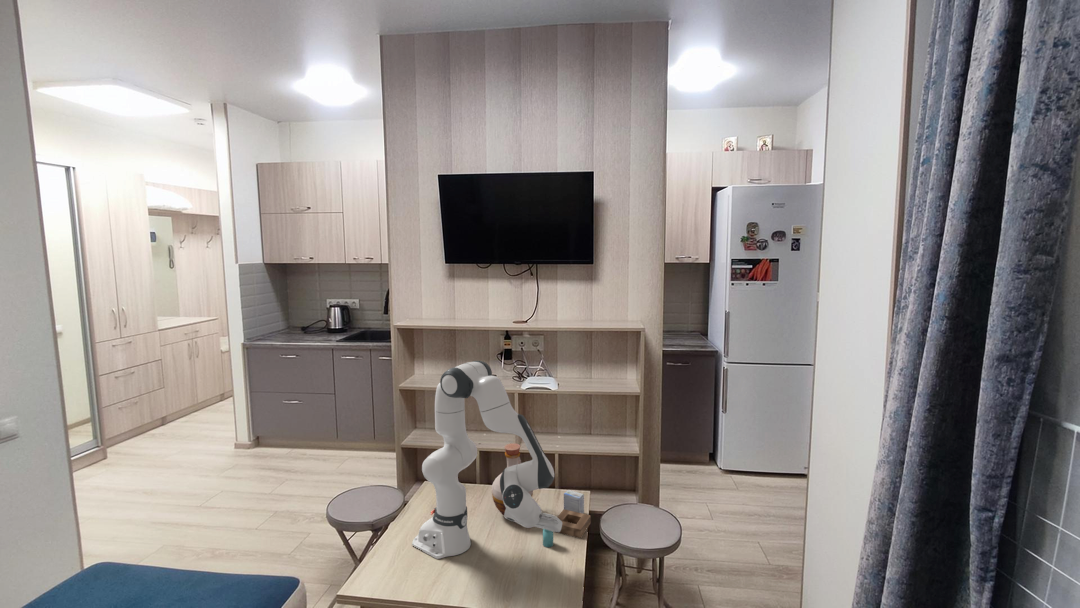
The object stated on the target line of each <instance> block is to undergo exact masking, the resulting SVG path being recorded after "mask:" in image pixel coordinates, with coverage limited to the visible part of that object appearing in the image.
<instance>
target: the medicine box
mask: <svg viewBox="0 0 1080 608" xmlns="http://www.w3.org/2000/svg"><path fill="white" fill-rule="evenodd" d="M563 509H565V510H569V511H574V512H578V513H583V514H585V494H584V493H581V492H578V491H576V490H575V491H574V490H570V489H568V490H566V491H565V492H564V493H563Z"/></svg>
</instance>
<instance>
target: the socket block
mask: <svg viewBox="0 0 1080 608" xmlns="http://www.w3.org/2000/svg"><path fill="white" fill-rule="evenodd" d="M556 517H557V518H559V519H560V520H561V521H562V528H561V531H560V532H556V533H558V534H562V535H566V536H569V537H570V536H571V537H574V538H578V539H582V537H583V535H585V532H586V531H587V530H586V528H587V529H589V526H590V525H591V521H592V520H591V519H592V518H591V515H590V514H586V513H578V512H574V511H569V510H565V509H564V508H563V509H562V511H561V512H560V513H559V515H558V516H556ZM553 533H554V531H553Z"/></svg>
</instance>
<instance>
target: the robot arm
mask: <svg viewBox="0 0 1080 608" xmlns="http://www.w3.org/2000/svg"><path fill="white" fill-rule="evenodd" d="M439 381H440V382H439V383H438V384H437V386H436V389H435V395H434V428H435V432H436V433H437V434H438V435H439V436H441V437H442V438H443V447H441V448H438V449H437V450H435V451H433V452H431V454H429V455H428V456H427V457H426V458H425V459H424V460H423V462H422V465H421V471H422V474H423V477H424V479H426V480H427V481H428V482H429V483H431V484H432V485H433V487H434V490H435V499H436V501H435V502H436V507H434V508H433V510H431V511H430V516H432V517H430V518H429V519H428V520H426V521H425V522H424V523H422V525H421V526H420V527H419V530H418V534H417V535H416V536H415V537H414V538H413V540H412V542H411V546H412V545H413V546H414V547H413V546H412V547H413V548H415V547H416V548H415V549H417V548H418V550H419V549H420V550H419V551H421V550H422V551H421V552H423V553H425V554H427V555H429V556H430V557H433V558H434V559H437V560H440V559H443V558H447V557H453V556H458V555H461V554H463V553H465V552H466V551H468V550H469V549H470V547H471V544H472V542H471V541H472V540H471V538H470V534H469V528H468V516H469V515H468V507H467V488H466V486H465V485H464V484H463V483H461V482H460V481H459V478H458V477H459V473H460V472H462V471H463V470H465V469H467V468H468V467H469V466H470V465H471V464H472V463H473V462H474V461H475V459H477V457H478V447H477V445H476V443H475V442H474V441H473V440H472V439H471V438H470V437H469V436H468V433H467V427H466V411H465V410H466V408H465V407H466V405H465V404H466V403H465V399H469V398H470V397H472V398H474V399H475V400H476V403H477V405H478V410H479V413H480V416H481V419H482V422H483V425H484V426H485V427H486V428H487V429H489V430H491V431H493V432H495V433H500V434H511V435H516V436H517V437H519V438H521V439H522V441H523V442H524V444H525V447H526V448H527V450H528V452H529V454H530V457H531V458H532V459H531V460H528V461H527V460H526V461H525V462H521V464H517V465H513V466H510V467H507V466H506V467H505V468H504V469H503V470H502V472H501V473H502V475H501V477H500V489H501V493H502V497H503V502H504V505H505V507H506V510H505V514H504V516H503V517H504V518H505V519H506V520H508V521H510V522H514V523H516V524H517V525H520V526H522V527H523V528H526V529H527V528H528V529H530V528H534V527H535V528H538V529H542V530H543V529H546V530H549V531H551V532H553V531H554V532H555V533H557V532H560V531H561V528H562V521H561V520H560V519H559V518H557V517H558V516H556V515H554V514H550V513H546V512H542V508H541V506H540V505H539V504H538V502H537V501H536V499H534V498H533V496H531V495H530V494H529V493H528V492H529V491H532V490H533V491H535V490H541V489H546V488H549V487H550V486H551V485H552V484H553V482H554V480H555V471H554V467H553V464H552V463H551V462H550V460H549V459H548V457H547V456H546V454H545V452H544V450H543V448H542V446H541V444H540V442H539V440H538V438H537V436H536V435H535V433H534V431H533V429H532V426H531V424H530V423H529V422H528V420H527V419H526V417H525V416H524V415H523V414H520V413H518V412H517V411H516V410H515V408H513V406H512V404H511V401H510V398H509V396H508V395H509V394H508V392H507V390H506V388H505V386H504V384H503V382H502V380H501V378H499V377H498V376H496V375H493V372H492V368H491V366H490V365H489V364H488V363H487V362H486V361H482V360H473V361H468V362H464V363H461V364H460V365H456V366H454V367H450V368H449V369H447V370H446V371H444V373H442V375H441V377H440V380H439ZM554 532H553V533H554Z"/></svg>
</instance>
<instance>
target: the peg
mask: <svg viewBox="0 0 1080 608" xmlns="http://www.w3.org/2000/svg"><path fill="white" fill-rule="evenodd" d="M542 546H543V547H544V548H552V547H553V546H554V532H551V531H549V530H546V529H542Z"/></svg>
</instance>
